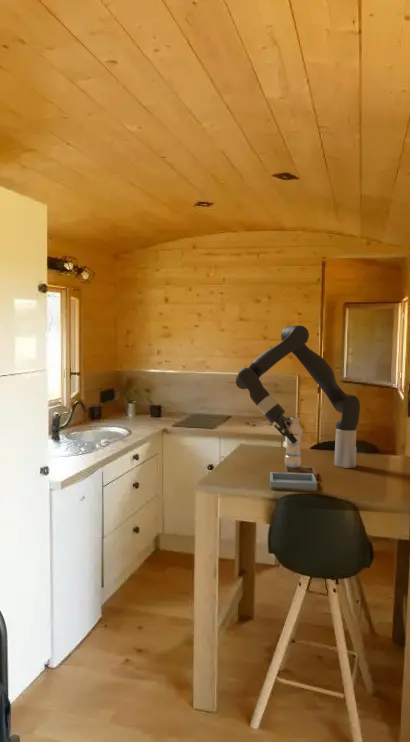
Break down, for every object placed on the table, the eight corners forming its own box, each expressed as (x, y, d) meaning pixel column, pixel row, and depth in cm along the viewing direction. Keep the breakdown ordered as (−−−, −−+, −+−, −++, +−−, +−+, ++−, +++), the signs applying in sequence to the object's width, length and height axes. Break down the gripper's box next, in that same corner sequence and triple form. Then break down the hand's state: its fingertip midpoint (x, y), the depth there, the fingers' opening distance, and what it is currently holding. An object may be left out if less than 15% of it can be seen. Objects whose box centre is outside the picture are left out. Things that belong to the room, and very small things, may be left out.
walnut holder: (313, 472, 247) (314, 467, 246) (316, 480, 235) (316, 474, 235) (283, 471, 248) (284, 465, 248) (285, 478, 236) (285, 472, 236)
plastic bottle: (281, 465, 228) (283, 416, 226) (295, 464, 231) (297, 416, 229) (289, 469, 222) (291, 419, 220) (304, 468, 225) (306, 418, 223)
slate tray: (313, 481, 233) (313, 474, 233) (317, 491, 219) (317, 483, 219) (269, 479, 235) (270, 472, 234) (270, 489, 221) (270, 481, 220)
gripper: (271, 405, 221) (299, 438, 217) (282, 401, 234) (309, 432, 230) (258, 417, 223) (286, 450, 219) (270, 412, 236) (296, 443, 232)
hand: (297, 440), depth 225 cm, fingers closed on plastic bottle, 6 cm apart
